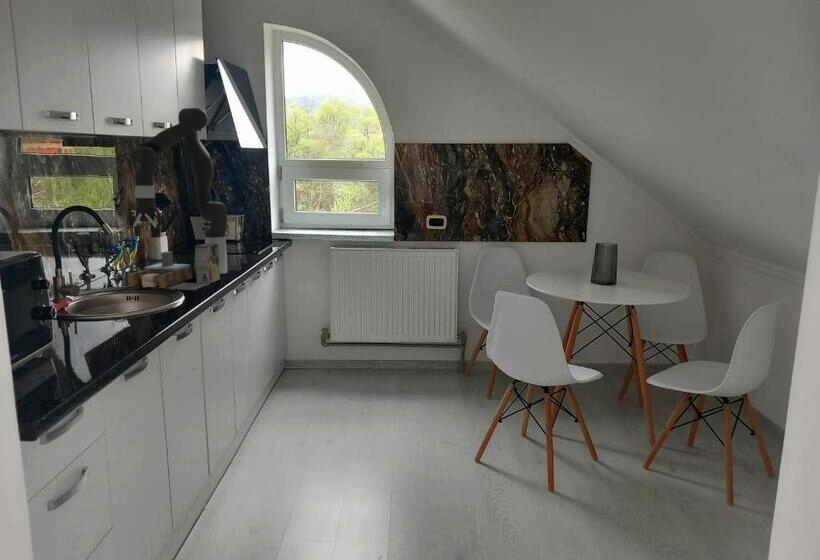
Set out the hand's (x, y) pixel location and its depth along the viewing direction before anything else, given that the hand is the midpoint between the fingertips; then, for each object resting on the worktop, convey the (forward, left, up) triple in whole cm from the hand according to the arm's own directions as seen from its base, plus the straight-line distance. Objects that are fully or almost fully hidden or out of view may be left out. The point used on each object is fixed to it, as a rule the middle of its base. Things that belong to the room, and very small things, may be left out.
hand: (147, 236), depth 261 cm
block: (0, 0, -21) cm, 21 cm away
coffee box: (-15, +18, -21) cm, 32 cm away
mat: (-2, +16, -21) cm, 27 cm away
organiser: (-8, 0, -21) cm, 22 cm away
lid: (-13, 0, -16) cm, 20 cm away
